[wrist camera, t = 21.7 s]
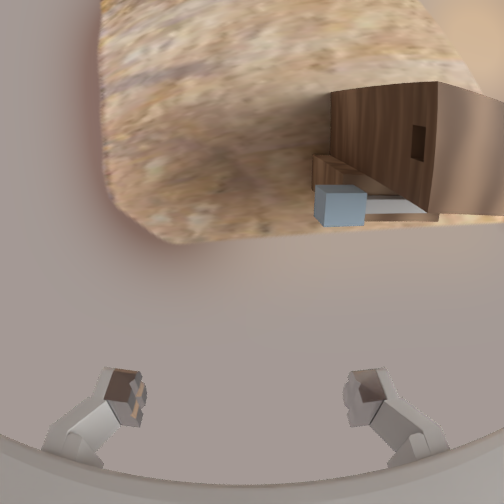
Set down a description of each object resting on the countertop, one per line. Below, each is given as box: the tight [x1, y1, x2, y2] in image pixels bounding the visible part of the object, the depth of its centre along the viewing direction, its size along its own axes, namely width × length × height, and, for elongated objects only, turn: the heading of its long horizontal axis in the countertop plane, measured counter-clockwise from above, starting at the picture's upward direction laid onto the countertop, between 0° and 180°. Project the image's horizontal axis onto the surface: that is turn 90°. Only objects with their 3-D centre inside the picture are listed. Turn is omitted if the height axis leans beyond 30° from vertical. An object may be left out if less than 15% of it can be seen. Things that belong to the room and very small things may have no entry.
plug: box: [314, 185, 427, 227], centre depth 33 cm, size 20×4×4 cm, turn 91°
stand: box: [312, 81, 504, 222], centre depth 33 cm, size 17×16×28 cm
